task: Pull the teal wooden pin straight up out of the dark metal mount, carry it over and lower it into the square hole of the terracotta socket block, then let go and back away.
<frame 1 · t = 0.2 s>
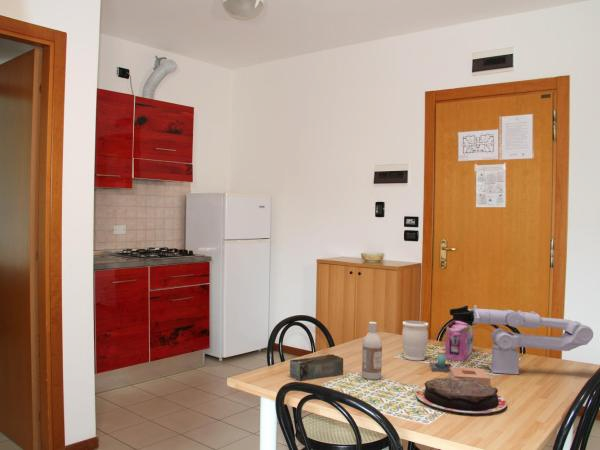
hand: (451, 314, 204), 21 cm above the table, tool horizontal, fingers open, 7 cm apart
bath foam: (371, 377, 189), on the table
beverage carton: (316, 376, 191), on the table
chocolate cake: (460, 402, 167), on the table
socket: (468, 380, 188), on the table
pin: (441, 359, 202), in the mount
jar: (414, 358, 217), on the table
mount: (441, 368, 202), on the table
gum box: (459, 355, 226), on the table
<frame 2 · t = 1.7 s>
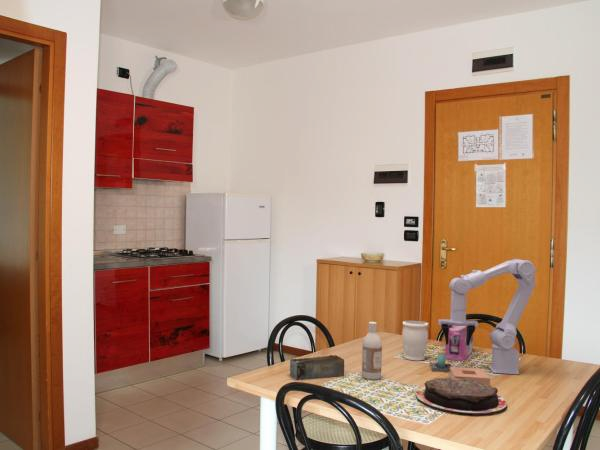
hand: (457, 344, 201), 10 cm above the table, tool pointing down, fingers open, 7 cm apart
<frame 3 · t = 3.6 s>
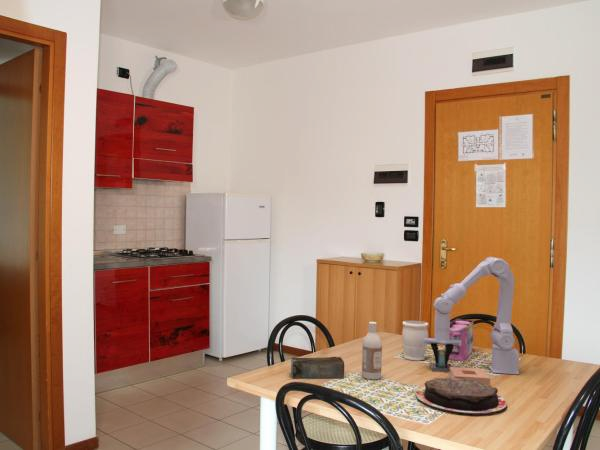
hand: (441, 363, 202), 2 cm above the table, tool pointing down, fingers closed on pin, 3 cm apart
pin: (441, 359, 202), in the mount, touching gripper
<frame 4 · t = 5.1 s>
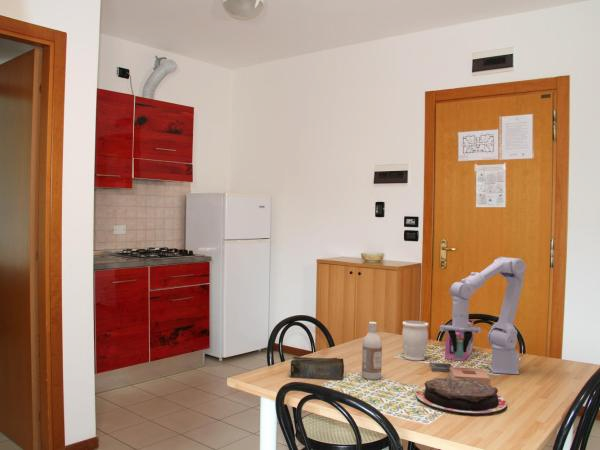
hand: (459, 351, 193), 9 cm above the table, tool pointing down, fingers closed on pin, 3 cm apart
pin: (459, 348, 193), point 10 cm above the table, touching gripper
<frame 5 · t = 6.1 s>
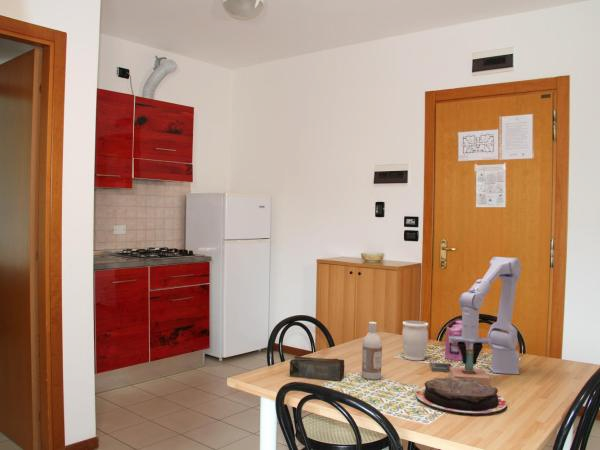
hand: (469, 363, 188), 6 cm above the table, tool pointing down, fingers closed on pin, 3 cm apart
pin: (469, 359, 189), point 7 cm above the table, touching gripper
when the fingers open (3 cm above the table, at t = 6.9 s): pin drops 1 cm, resting in socket.
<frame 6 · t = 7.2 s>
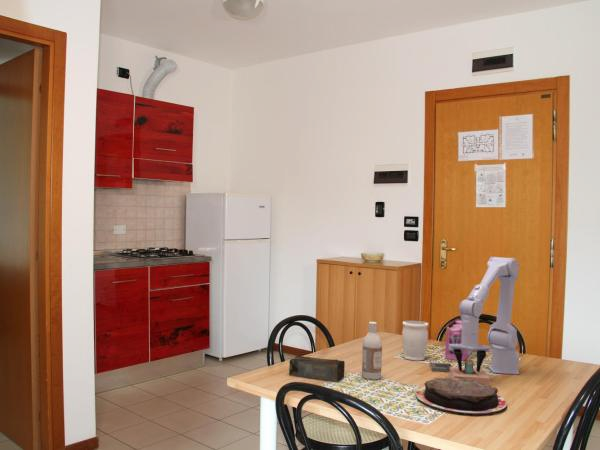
hand: (469, 370, 188), 3 cm above the table, tool pointing down, fingers open, 6 cm apart
pin: (468, 370, 189), in the socket
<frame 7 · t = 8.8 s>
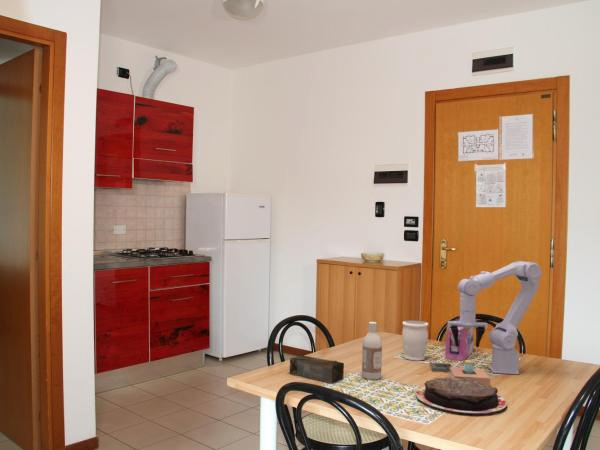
hand: (466, 346, 199), 10 cm above the table, tool pointing down, fingers open, 7 cm apart
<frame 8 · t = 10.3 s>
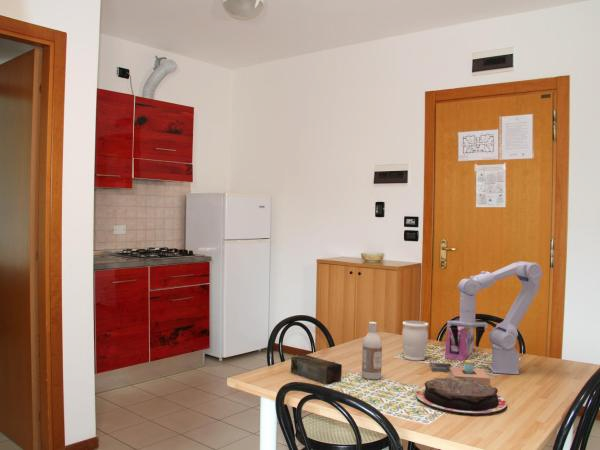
hand: (466, 345, 199), 10 cm above the table, tool pointing down, fingers open, 7 cm apart
at the end: pin 0.2 cm off-centre on the socket, point 3.5 cm above the socket's base; pin tilted 0°; the gripper is holding nothing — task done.
